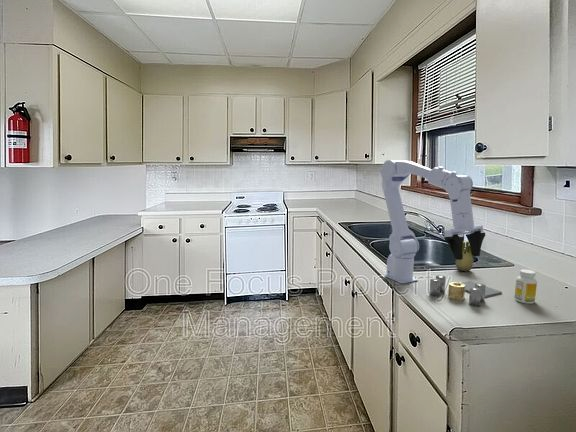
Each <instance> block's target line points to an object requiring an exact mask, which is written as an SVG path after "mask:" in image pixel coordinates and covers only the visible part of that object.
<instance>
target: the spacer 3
mask: <svg viewBox="0 0 576 432" xmlns="http://www.w3.org/2000/svg"><path fill="white" fill-rule="evenodd" d="M468 297H469V299H468V305H469V306H471V307H477V308H478V307H481V302H480V299H481V289H480V288H476V287H471V288H470V293H469V296H468Z"/></svg>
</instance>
